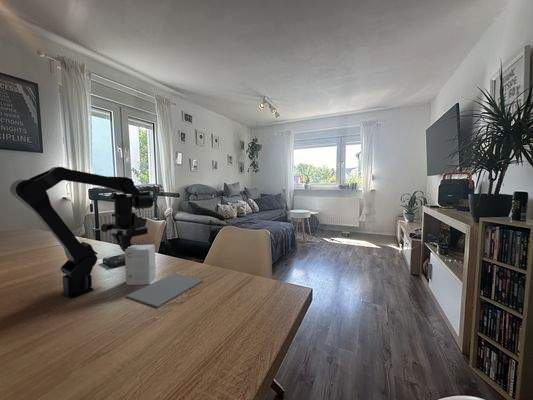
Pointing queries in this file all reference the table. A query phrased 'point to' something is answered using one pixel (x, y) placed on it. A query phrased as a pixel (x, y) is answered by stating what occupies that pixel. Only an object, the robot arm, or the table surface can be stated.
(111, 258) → the disk drive
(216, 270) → the table surface
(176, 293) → the mat
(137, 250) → the small box
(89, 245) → the robot arm
